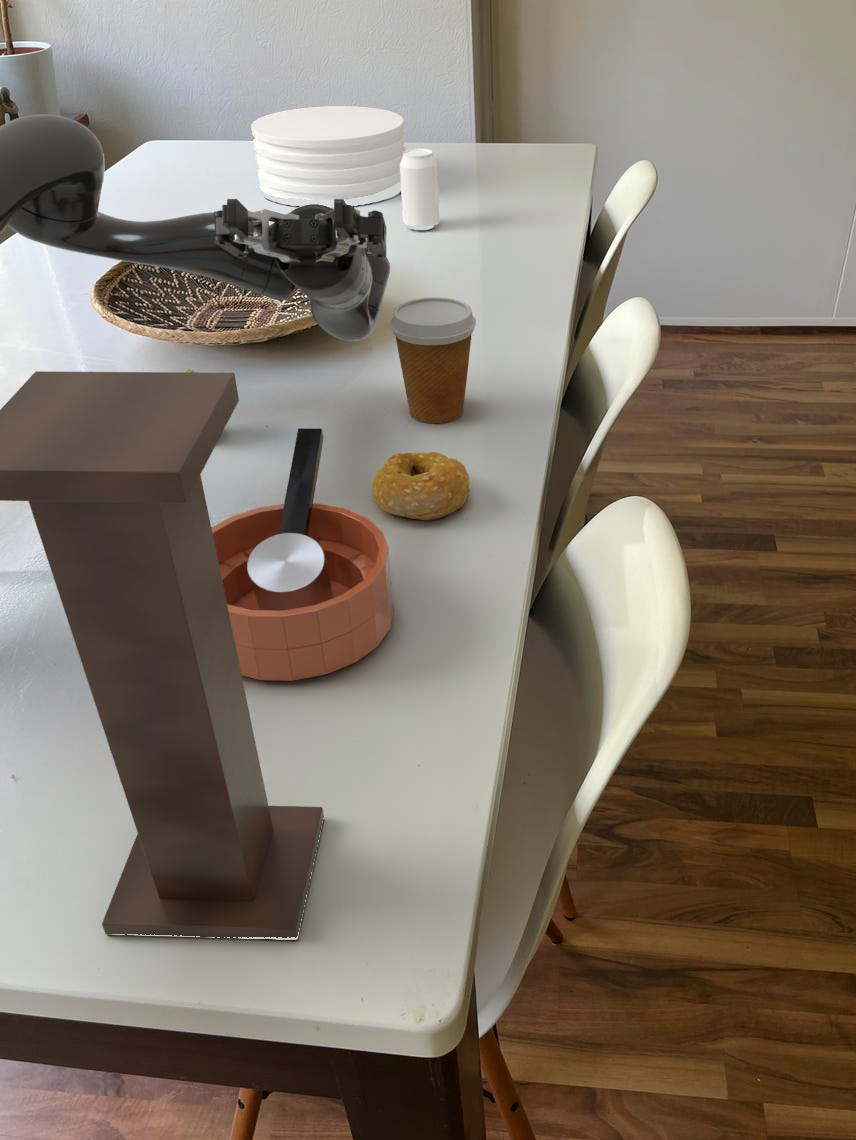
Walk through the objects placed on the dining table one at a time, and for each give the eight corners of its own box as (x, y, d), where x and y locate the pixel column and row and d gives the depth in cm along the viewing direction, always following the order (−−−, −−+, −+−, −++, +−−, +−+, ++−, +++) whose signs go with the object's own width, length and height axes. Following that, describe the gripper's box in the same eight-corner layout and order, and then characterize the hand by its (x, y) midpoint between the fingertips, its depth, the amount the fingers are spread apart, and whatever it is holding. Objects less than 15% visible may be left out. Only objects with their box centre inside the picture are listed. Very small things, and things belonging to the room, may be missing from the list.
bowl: (174, 684, 82) (156, 614, 77) (224, 567, 95) (211, 501, 90) (381, 688, 81) (374, 618, 77) (402, 569, 94) (397, 504, 90)
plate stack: (355, 161, 211) (350, 99, 204) (436, 189, 194) (433, 123, 187) (234, 185, 198) (224, 120, 191) (308, 218, 180) (300, 148, 173)
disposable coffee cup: (442, 438, 114) (438, 334, 107) (379, 415, 119) (371, 314, 112) (493, 407, 120) (493, 307, 113) (431, 387, 125) (427, 289, 117)
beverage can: (438, 232, 173) (435, 156, 166) (401, 233, 173) (397, 156, 166) (440, 221, 178) (437, 147, 170) (404, 222, 178) (400, 147, 171)
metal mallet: (253, 628, 86) (241, 591, 82) (284, 465, 97) (274, 426, 93) (328, 629, 86) (320, 592, 82) (351, 465, 97) (344, 426, 93)
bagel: (474, 473, 108) (473, 432, 105) (466, 529, 99) (465, 486, 96) (381, 471, 109) (377, 430, 106) (365, 526, 100) (361, 484, 97)
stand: (105, 936, 63) (-79, 469, 43) (153, 814, 71) (15, 370, 51) (298, 941, 63) (202, 472, 42) (324, 818, 70) (254, 372, 50)
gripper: (398, 299, 97) (373, 261, 81) (250, 298, 98) (196, 261, 82) (398, 216, 96) (373, 161, 80) (248, 216, 97) (194, 161, 81)
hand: (284, 212), depth 81 cm, fingers open, 8 cm apart
